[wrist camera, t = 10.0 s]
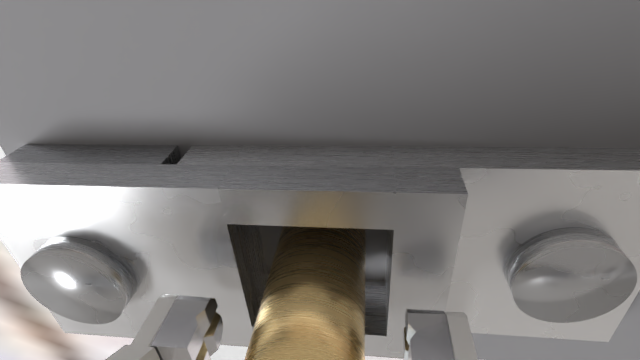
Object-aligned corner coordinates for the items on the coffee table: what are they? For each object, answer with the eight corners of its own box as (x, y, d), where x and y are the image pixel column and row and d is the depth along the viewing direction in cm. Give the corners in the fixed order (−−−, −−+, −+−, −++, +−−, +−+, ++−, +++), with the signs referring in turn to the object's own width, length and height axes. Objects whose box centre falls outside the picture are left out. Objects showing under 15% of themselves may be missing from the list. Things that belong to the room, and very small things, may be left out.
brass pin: (366, 202, 13) (363, 510, 6) (365, 266, 14) (362, 562, 8) (277, 201, 13) (182, 489, 6) (287, 263, 15) (219, 543, 8)
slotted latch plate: (678, 148, 10) (783, 223, 8) (591, 312, 14) (642, 401, 11) (25, 144, 13) (-65, 199, 10) (101, 284, 17) (50, 351, 14)
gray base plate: (1059, -262, 6) (1118, -278, 6) (633, 358, 16) (641, 371, 16) (-138, -135, 9) (-166, -139, 9) (116, 321, 19) (109, 332, 19)
